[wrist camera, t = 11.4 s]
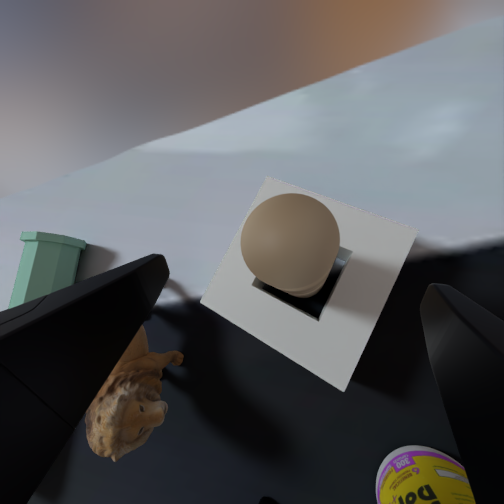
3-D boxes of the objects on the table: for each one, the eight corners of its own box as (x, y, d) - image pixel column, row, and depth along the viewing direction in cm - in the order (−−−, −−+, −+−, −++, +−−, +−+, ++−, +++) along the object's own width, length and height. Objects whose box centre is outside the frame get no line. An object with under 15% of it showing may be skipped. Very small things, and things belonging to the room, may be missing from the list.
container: (-53, 539, 18) (27, 228, 23) (-53, 495, 21) (16, 234, 26) (46, 492, 22) (95, 241, 27) (32, 462, 26) (78, 245, 31)
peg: (332, 265, 21) (357, 213, 9) (313, 306, 20) (311, 307, 9) (292, 247, 22) (267, 180, 10) (273, 285, 22) (224, 261, 10)
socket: (398, 244, 20) (419, 229, 16) (338, 374, 19) (344, 392, 15) (274, 196, 24) (267, 175, 20) (218, 302, 23) (199, 302, 19)
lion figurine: (212, 394, 21) (143, 454, 12) (164, 419, 22) (67, 494, 13) (158, 258, 26) (80, 234, 17) (120, 282, 26) (27, 271, 18)
